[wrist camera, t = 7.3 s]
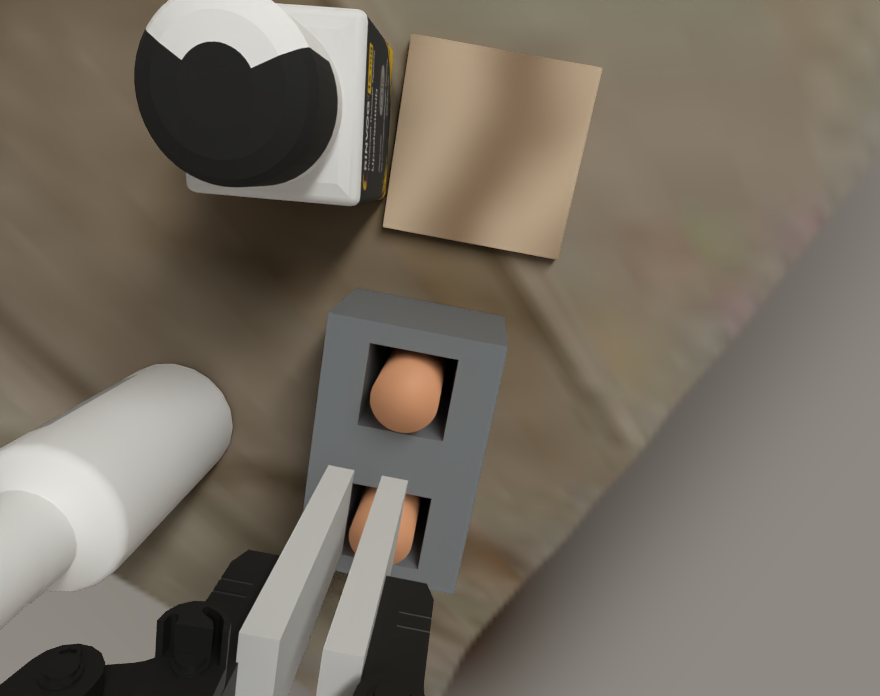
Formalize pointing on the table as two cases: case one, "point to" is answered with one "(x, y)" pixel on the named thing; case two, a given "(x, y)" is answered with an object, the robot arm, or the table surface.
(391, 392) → the plunger
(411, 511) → the plunger
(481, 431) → the grey plunger block
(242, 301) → the table surface
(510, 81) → the cork pad
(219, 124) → the medicine bottle
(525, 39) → the table surface
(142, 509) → the spray bottle
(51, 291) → the table surface
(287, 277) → the table surface
